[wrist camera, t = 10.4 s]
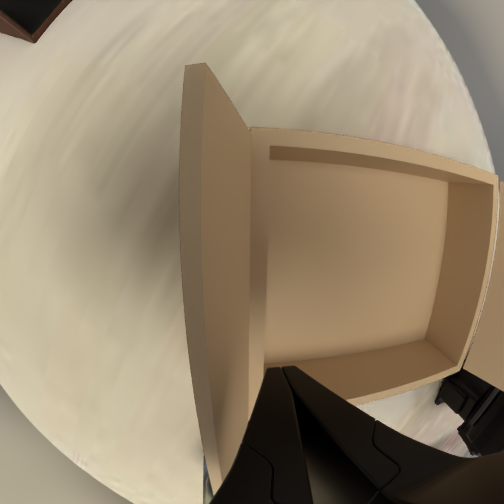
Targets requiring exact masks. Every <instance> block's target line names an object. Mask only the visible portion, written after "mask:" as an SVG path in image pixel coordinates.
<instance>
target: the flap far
mask: <svg viewBox="0 0 504 504" xmlns="http://www.w3.org/2000/svg"><path fill="white" fill-rule="evenodd" d="M463 369H465V370H467V371H469V372H470V373H472V374H474V375H476V376H477V377H479V378H481V379H483V380H484V381H486V382H488V383H490V384H491V385H493V386H495V387H497V388H498V389H500V390H502V391H504V182H500V208H499V222H498V233H497V241H496V249H495V256H494V262H493V268H492V273H491V278H490V283H489V287H488V292H487V296H486V300H485V304H484V307H483V311H482V315H481V318H480V321H479V325H478V328H477V331H476V334H475V337H474V340H473V343H472V346H471V348H470V351H469V354H468V356H467V359H466V361H465V364H464V366H463Z"/></svg>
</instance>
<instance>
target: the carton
mask: <svg viewBox="0 0 504 504" xmlns="http://www.w3.org/2000/svg"><path fill="white" fill-rule="evenodd" d="M250 133H251V135H252V145H251V222H250V308H249V410H248V421H249V419H250V416H251V414H252V411H253V408H254V405H255V402H256V399H257V396H258V393H259V390H260V387H261V384H262V381H263V378H264V374H265V371H266V369H267V368H268V367H282V366H291V365H295V366H297V367H298V368H299V369H301V370H302V371H304V372H305V373H306V374H308V375H309V376H311V377H312V378H314V379H315V380H317V381H318V382H319V383H321V384H322V385H324V386H325V387H327V388H328V389H330V390H331V391H333V392H334V393H336V394H337V395H339V396H340V397H342V398H343V399H345V400H346V401H348V402H349V403H351V404H352V405H354V406H356V405H360V404H364V403H368V402H372V401H376V400H380V399H383V398H387V397H390V396H393V395H397V394H400V393H403V392H406V391H409V390H412V389H415V388H418V387H421V386H424V385H426V384H429V383H432V382H434V381H437V380H439V379H442V378H444V377H447V376H449V375H451V374H454V373H456V372H458V371H460V369H461V367H462V364H463V362H464V359H465V357H466V354H467V352H468V349H469V346H470V343H471V340H472V338H473V335H474V331H475V328H476V325H477V322H478V319H479V315H480V312H481V308H482V304H483V300H484V296H485V292H486V288H487V283H488V278H489V273H490V268H491V262H492V256H493V250H494V242H495V234H496V223H497V210H498V176H497V175H495V174H492V173H490V172H487V171H484V170H482V169H479V168H476V167H473V166H470V165H467V164H464V163H461V162H458V161H455V160H451V159H448V158H445V157H441V156H438V155H434V154H431V153H427V152H423V151H419V150H415V149H411V148H407V147H402V146H398V145H393V144H389V143H384V142H379V141H373V140H368V139H362V138H356V137H350V136H344V135H337V134H329V133H321V132H312V131H302V130H291V129H278V128H260V127H251V129H250Z"/></svg>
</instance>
